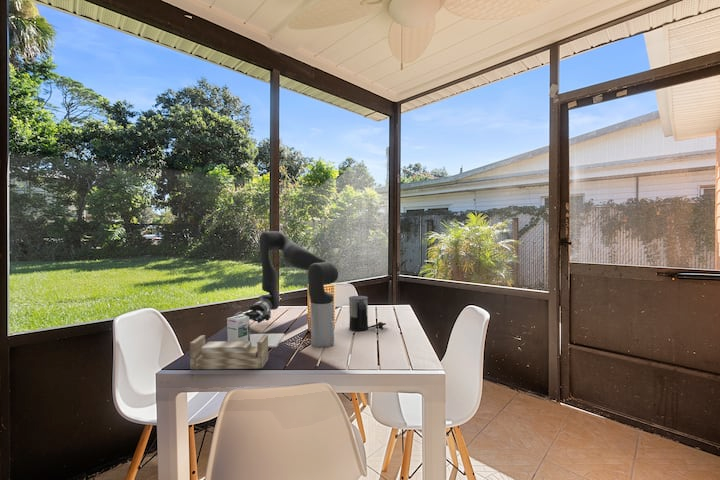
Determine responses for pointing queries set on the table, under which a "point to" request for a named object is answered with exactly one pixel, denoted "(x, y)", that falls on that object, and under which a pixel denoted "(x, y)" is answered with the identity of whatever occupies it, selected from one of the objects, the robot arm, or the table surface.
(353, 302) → the milk frother
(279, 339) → the white mat
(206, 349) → the offcut rack
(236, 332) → the syrup box
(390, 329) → the table surface
